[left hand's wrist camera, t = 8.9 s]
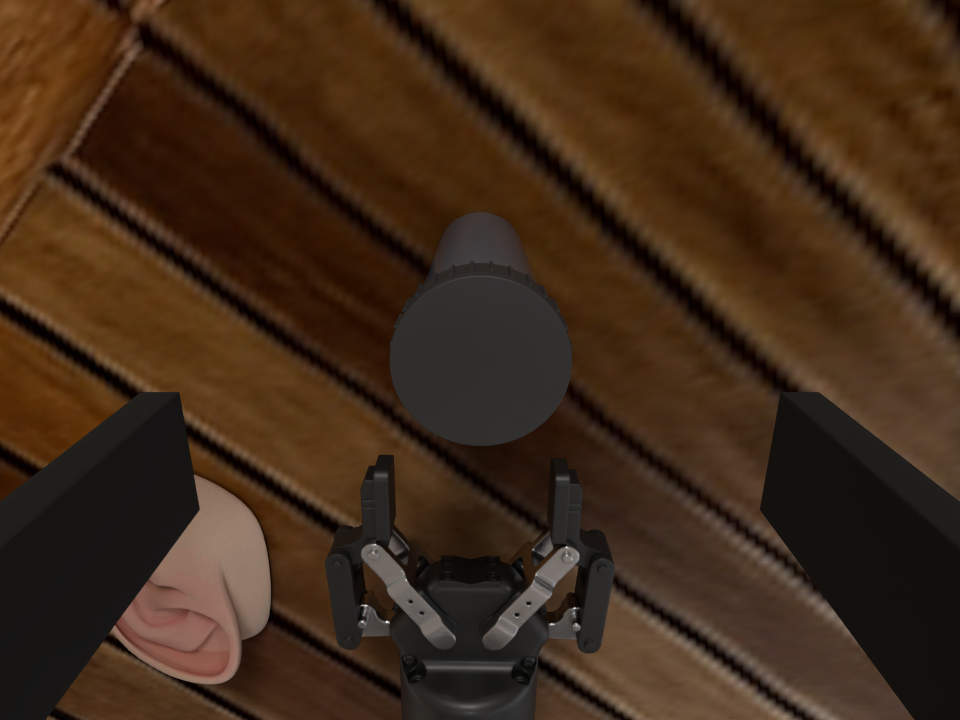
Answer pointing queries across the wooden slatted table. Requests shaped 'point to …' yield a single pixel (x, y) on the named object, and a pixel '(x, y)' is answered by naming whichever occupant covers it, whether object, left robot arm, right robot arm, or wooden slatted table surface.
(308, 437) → the wooden slatted table surface
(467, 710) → the right robot arm
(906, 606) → the left robot arm
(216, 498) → the anatomical model
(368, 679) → the wooden slatted table surface
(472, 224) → the jar
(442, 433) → the lid
